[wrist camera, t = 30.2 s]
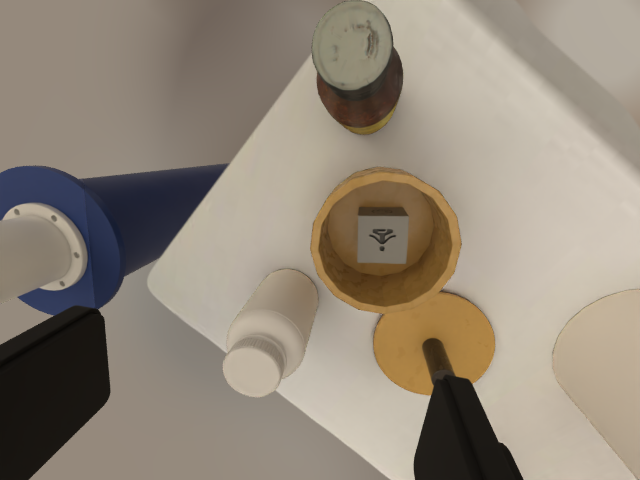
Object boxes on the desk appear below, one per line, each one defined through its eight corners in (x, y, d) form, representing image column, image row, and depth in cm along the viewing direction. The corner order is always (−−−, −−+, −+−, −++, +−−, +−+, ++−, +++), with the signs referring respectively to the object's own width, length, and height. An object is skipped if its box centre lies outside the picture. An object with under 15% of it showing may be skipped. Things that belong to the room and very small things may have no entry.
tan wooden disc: (364, 377, 44) (365, 419, 37) (383, 280, 40) (388, 307, 33) (474, 398, 42) (495, 446, 36) (506, 300, 38) (537, 333, 31)
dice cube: (403, 207, 36) (408, 216, 32) (400, 249, 38) (406, 263, 33) (358, 207, 37) (358, 215, 32) (358, 248, 38) (357, 262, 34)
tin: (316, 269, 40) (304, 300, 32) (330, 160, 36) (320, 163, 28) (425, 287, 39) (441, 324, 31) (451, 176, 35) (477, 184, 27)
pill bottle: (272, 328, 44) (227, 416, 29) (251, 275, 42) (192, 342, 27) (327, 315, 42) (308, 402, 28) (308, 260, 40) (277, 322, 26)
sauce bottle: (405, 93, 34) (459, 20, 15) (372, 146, 35) (382, 143, 16) (352, 59, 33) (337, -58, 14) (322, 115, 35) (273, 75, 16)
